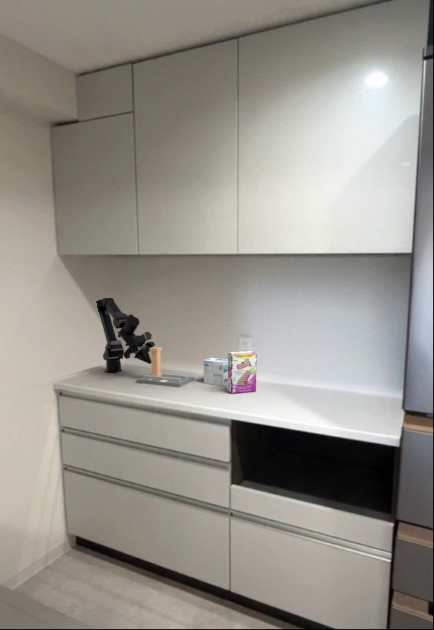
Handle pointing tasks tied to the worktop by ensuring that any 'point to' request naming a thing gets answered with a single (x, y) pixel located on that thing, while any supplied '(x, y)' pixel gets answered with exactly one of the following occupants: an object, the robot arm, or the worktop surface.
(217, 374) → the light bulb box
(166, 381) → the grey base plate
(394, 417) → the worktop surface
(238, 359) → the candy bar box
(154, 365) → the orange square pillar
